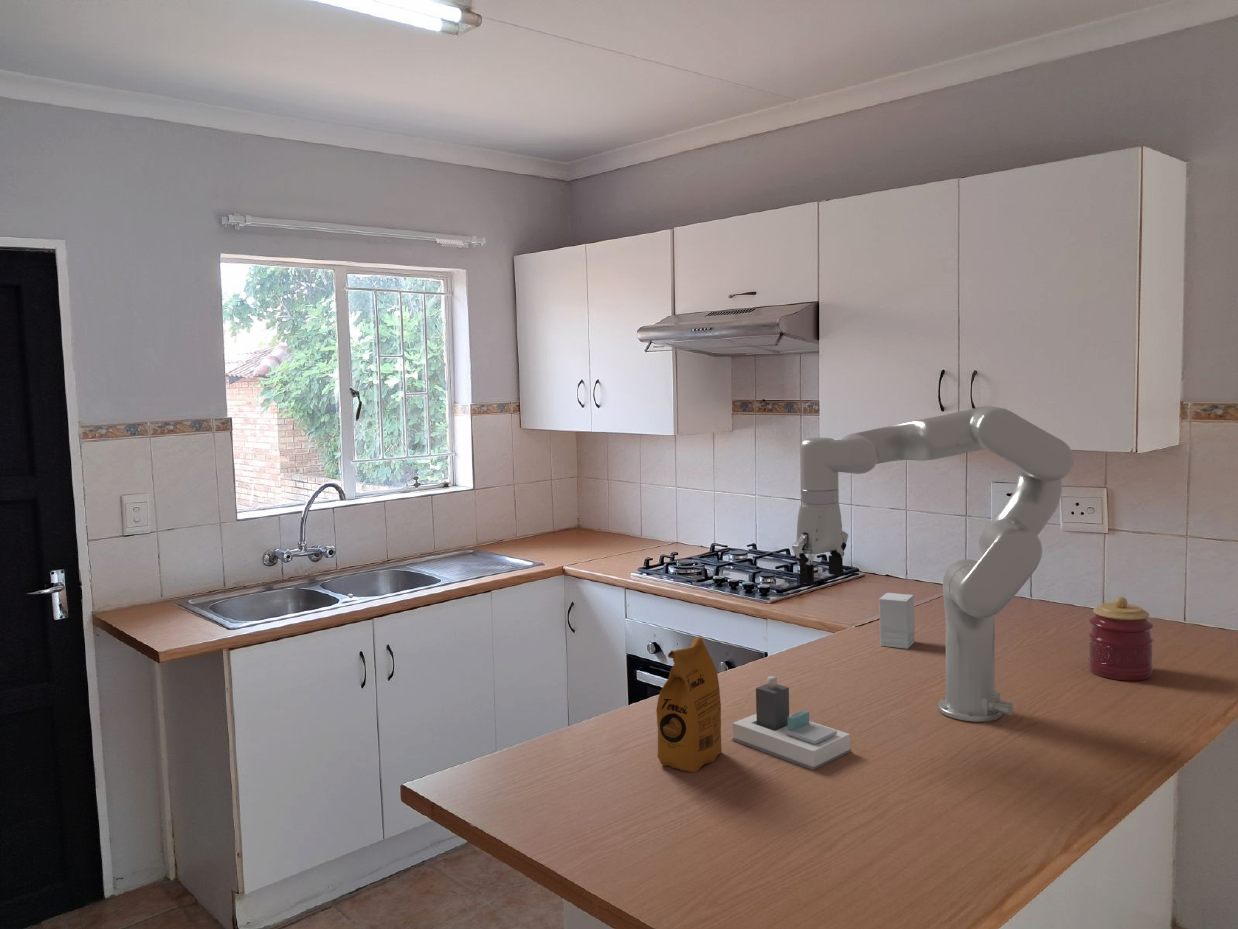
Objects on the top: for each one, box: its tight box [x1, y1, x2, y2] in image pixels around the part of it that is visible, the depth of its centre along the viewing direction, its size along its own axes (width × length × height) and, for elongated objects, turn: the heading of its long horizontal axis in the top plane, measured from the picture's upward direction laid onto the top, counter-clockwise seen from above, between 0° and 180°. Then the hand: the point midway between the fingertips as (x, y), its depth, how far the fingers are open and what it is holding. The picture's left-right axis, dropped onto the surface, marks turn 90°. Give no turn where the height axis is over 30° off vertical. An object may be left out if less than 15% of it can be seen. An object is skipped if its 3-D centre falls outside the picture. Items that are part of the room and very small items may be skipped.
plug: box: [755, 675, 790, 731], centre depth 179 cm, size 4×4×12 cm
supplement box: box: [878, 592, 916, 650], centre depth 238 cm, size 7×7×13 cm
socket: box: [731, 713, 852, 771], centre depth 176 cm, size 20×12×4 cm, turn 41°
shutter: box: [785, 709, 837, 744], centre depth 172 cm, size 7×7×3 cm
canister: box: [1087, 596, 1155, 682], centre depth 209 cm, size 13×13×18 cm
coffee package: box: [655, 636, 722, 773], centre depth 171 cm, size 10×12×22 cm
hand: (821, 579), depth 191 cm, fingers open, 9 cm apart
